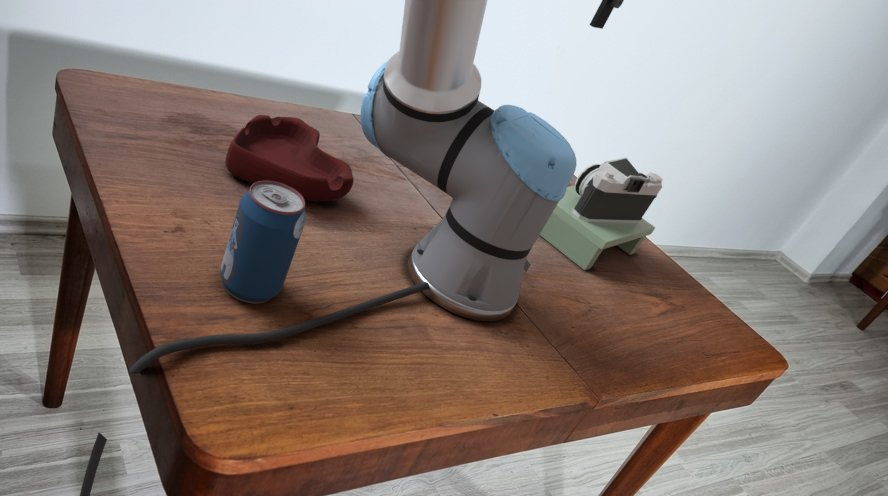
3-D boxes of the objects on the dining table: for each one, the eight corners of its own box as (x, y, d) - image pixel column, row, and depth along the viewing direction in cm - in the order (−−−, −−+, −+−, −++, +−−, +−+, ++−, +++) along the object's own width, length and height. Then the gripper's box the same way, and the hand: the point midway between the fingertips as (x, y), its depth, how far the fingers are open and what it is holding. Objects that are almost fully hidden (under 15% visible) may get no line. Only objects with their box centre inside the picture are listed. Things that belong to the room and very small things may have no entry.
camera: (612, 197, 125) (643, 147, 120) (646, 226, 120) (680, 175, 115) (551, 193, 116) (582, 140, 110) (585, 224, 111) (619, 170, 105)
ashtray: (198, 139, 100) (205, 107, 97) (297, 145, 110) (307, 116, 107) (249, 213, 90) (259, 179, 87) (353, 211, 100) (365, 181, 97)
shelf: (586, 272, 111) (606, 242, 108) (522, 221, 118) (539, 191, 115) (636, 255, 124) (655, 227, 121) (575, 209, 131) (592, 182, 127)
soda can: (291, 293, 80) (324, 205, 73) (251, 316, 74) (282, 222, 68) (246, 260, 82) (273, 171, 75) (203, 280, 76) (229, 185, 70)
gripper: (729, -112, 90) (639, 46, 101) (580, -174, 102) (514, -26, 113) (707, -125, 85) (614, 43, 96) (553, -189, 97) (486, -32, 108)
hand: (560, 6), depth 105 cm, fingers open, 13 cm apart
